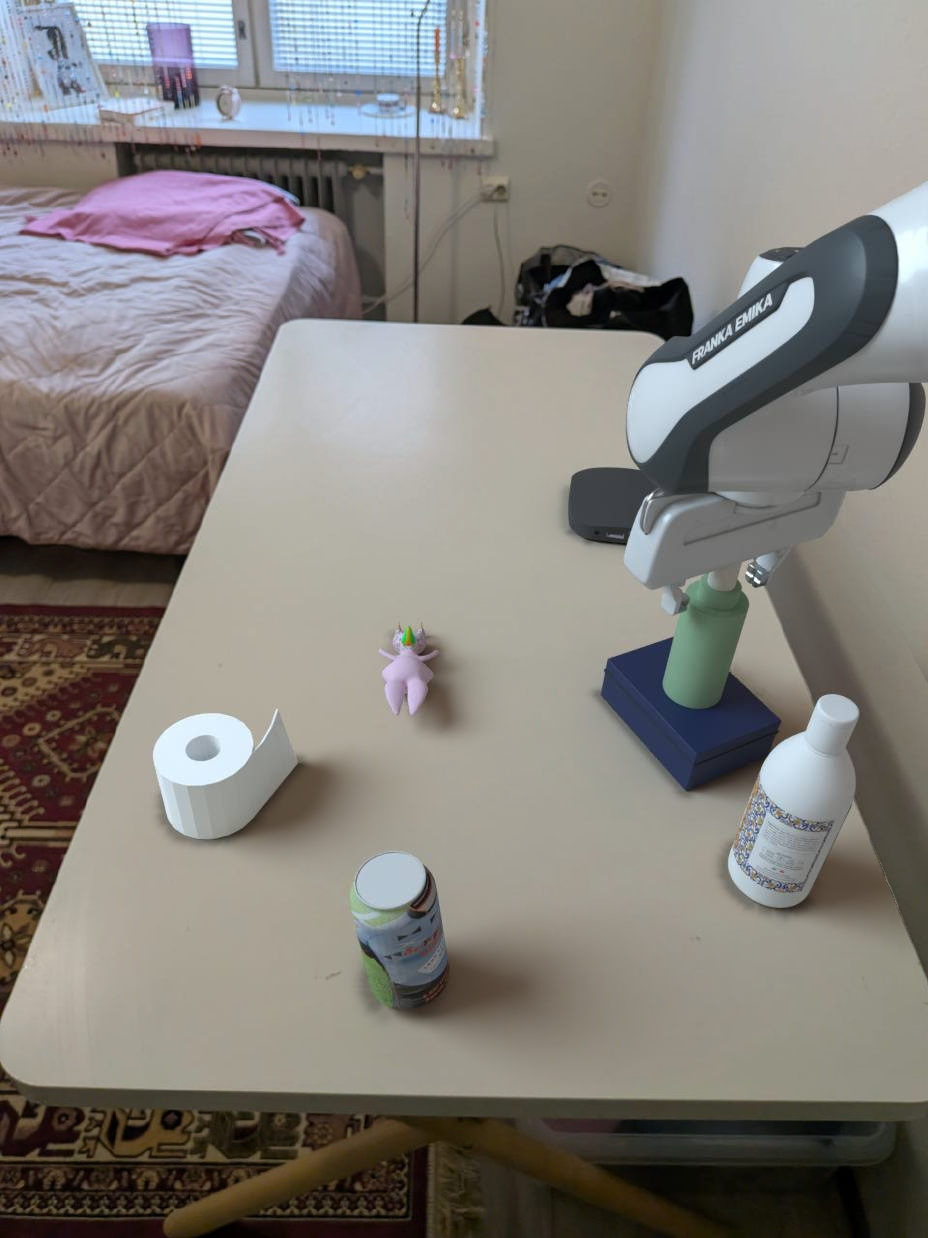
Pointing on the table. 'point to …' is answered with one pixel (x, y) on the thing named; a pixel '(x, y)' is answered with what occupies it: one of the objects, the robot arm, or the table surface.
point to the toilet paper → (219, 772)
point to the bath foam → (797, 808)
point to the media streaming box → (606, 502)
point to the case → (687, 719)
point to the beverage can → (400, 930)
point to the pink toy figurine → (407, 670)
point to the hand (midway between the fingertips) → (715, 596)
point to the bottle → (706, 639)
